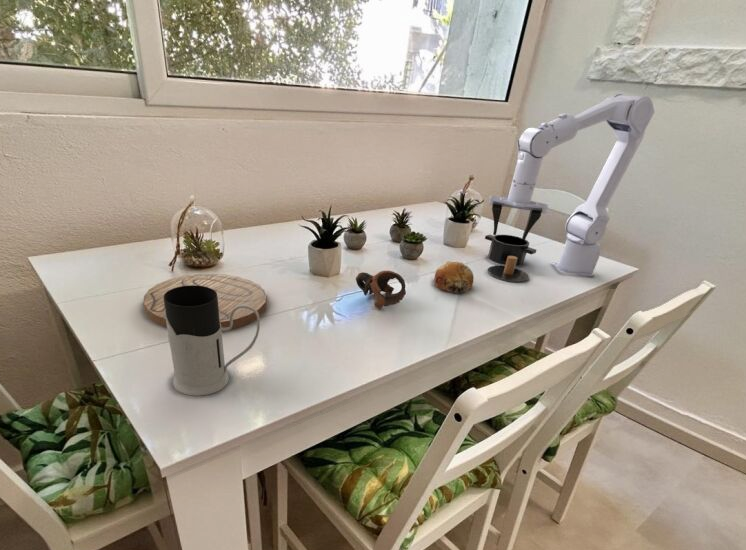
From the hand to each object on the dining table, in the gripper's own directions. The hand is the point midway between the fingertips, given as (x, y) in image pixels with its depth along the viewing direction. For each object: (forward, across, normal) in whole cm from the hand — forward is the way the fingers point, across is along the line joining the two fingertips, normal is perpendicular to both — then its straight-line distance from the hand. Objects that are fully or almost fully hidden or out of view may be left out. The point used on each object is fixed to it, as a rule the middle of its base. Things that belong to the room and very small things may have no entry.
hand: (509, 236), depth 124 cm
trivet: (+10, -60, -53) cm, 81 cm away
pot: (+10, +2, +11) cm, 15 cm away
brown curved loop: (+10, -27, -34) cm, 45 cm away
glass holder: (+10, -44, -77) cm, 89 cm away
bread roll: (+10, -12, -17) cm, 23 cm away
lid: (+10, +2, -2) cm, 10 cm away
